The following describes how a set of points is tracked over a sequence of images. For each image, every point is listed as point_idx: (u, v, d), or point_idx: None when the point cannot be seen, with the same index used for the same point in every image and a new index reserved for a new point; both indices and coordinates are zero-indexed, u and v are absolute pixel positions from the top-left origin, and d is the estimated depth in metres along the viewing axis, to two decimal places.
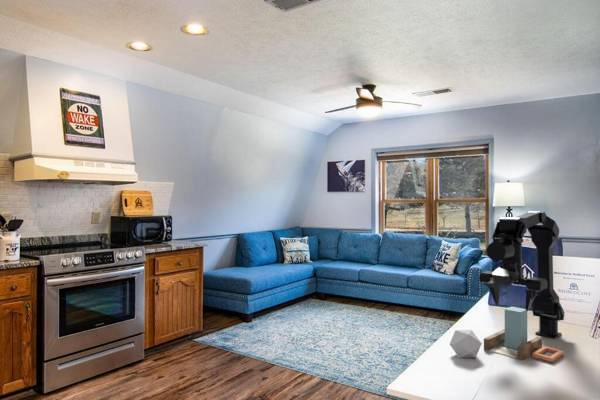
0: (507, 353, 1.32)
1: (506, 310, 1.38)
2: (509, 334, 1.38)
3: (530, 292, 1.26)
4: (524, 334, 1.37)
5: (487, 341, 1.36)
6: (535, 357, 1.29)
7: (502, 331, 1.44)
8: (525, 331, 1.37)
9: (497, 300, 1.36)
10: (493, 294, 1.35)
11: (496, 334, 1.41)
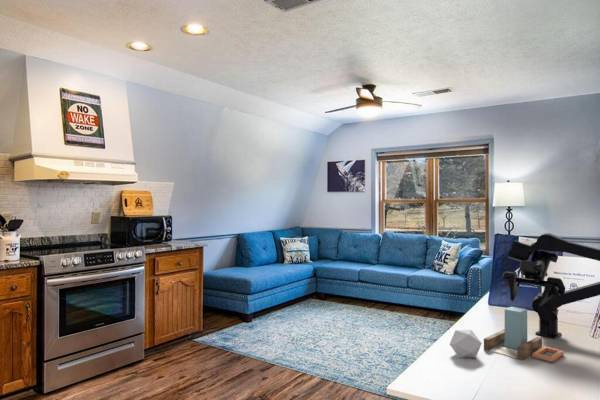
0: (507, 353, 1.32)
1: (506, 310, 1.38)
2: (509, 334, 1.38)
3: (549, 286, 1.40)
4: (523, 333, 1.37)
5: (487, 341, 1.36)
6: (535, 357, 1.29)
7: (502, 331, 1.44)
8: (525, 331, 1.37)
9: (513, 296, 1.47)
10: (511, 289, 1.48)
11: (496, 334, 1.41)
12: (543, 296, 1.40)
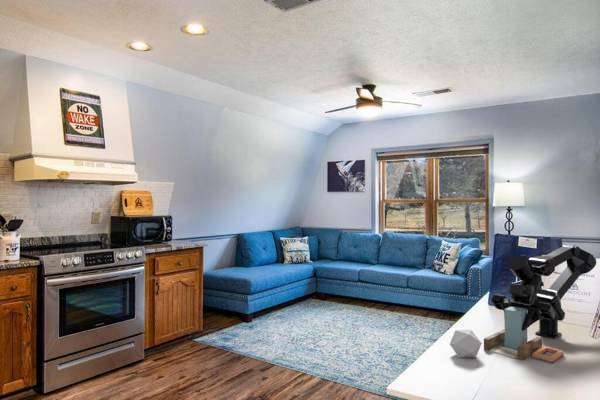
0: (507, 353, 1.32)
1: (506, 310, 1.38)
2: (509, 334, 1.38)
3: (532, 310, 1.36)
4: (523, 333, 1.37)
5: (487, 341, 1.36)
6: (535, 357, 1.29)
7: (502, 331, 1.44)
8: (525, 331, 1.37)
9: None
10: None
11: (496, 334, 1.41)
12: (526, 320, 1.36)
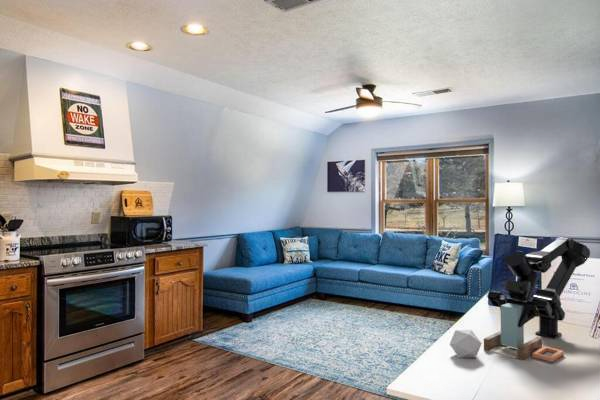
0: (507, 353, 1.32)
1: (502, 306, 1.37)
2: (505, 331, 1.36)
3: (528, 306, 1.34)
4: (520, 330, 1.35)
5: (487, 341, 1.36)
6: (535, 357, 1.29)
7: None
8: (521, 328, 1.36)
9: None
10: None
11: (496, 334, 1.41)
12: (522, 317, 1.34)
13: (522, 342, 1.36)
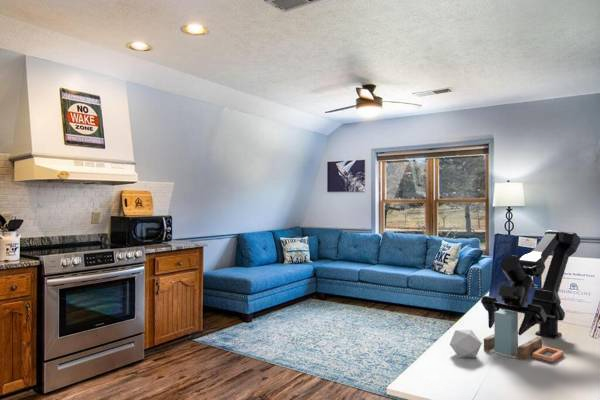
0: None
1: (496, 313, 1.34)
2: (499, 338, 1.33)
3: (529, 314, 1.30)
4: (514, 337, 1.32)
5: (487, 341, 1.36)
6: (535, 357, 1.29)
7: None
8: (515, 335, 1.33)
9: (491, 323, 1.37)
10: (490, 316, 1.38)
11: None
12: (523, 325, 1.30)
13: (516, 349, 1.33)
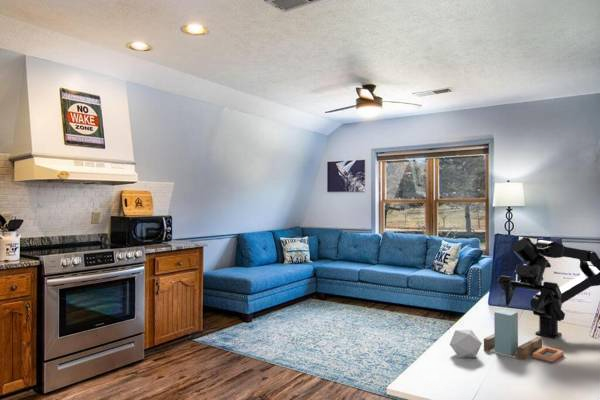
0: None
1: (496, 313, 1.34)
2: (499, 338, 1.33)
3: (545, 290, 1.37)
4: (514, 337, 1.32)
5: (487, 341, 1.36)
6: (535, 357, 1.29)
7: None
8: (515, 335, 1.33)
9: (508, 301, 1.44)
10: (507, 294, 1.45)
11: None
12: (539, 301, 1.37)
13: (516, 349, 1.33)
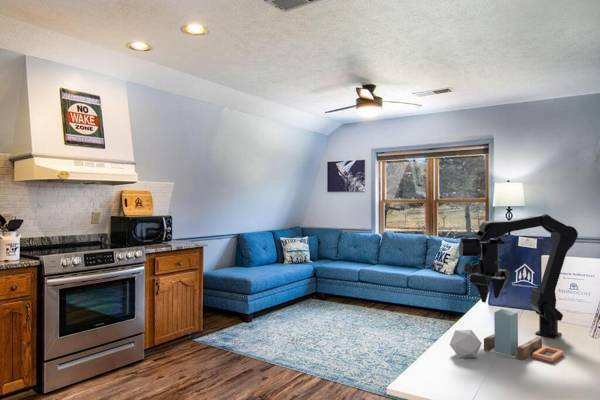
0: None
1: (496, 313, 1.34)
2: (499, 338, 1.33)
3: None
4: (514, 337, 1.32)
5: (487, 341, 1.36)
6: (535, 357, 1.29)
7: None
8: (515, 335, 1.33)
9: (495, 294, 1.55)
10: None
11: None
12: None
13: (516, 349, 1.33)
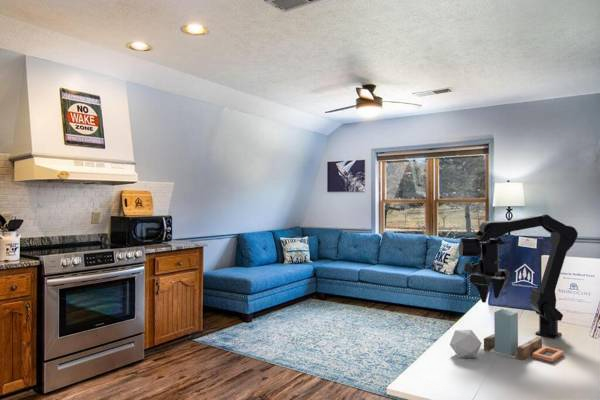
0: None
1: (496, 313, 1.34)
2: (499, 338, 1.33)
3: None
4: (514, 337, 1.32)
5: (487, 341, 1.36)
6: (535, 357, 1.29)
7: None
8: (515, 335, 1.33)
9: (495, 294, 1.55)
10: None
11: None
12: None
13: (516, 349, 1.33)
